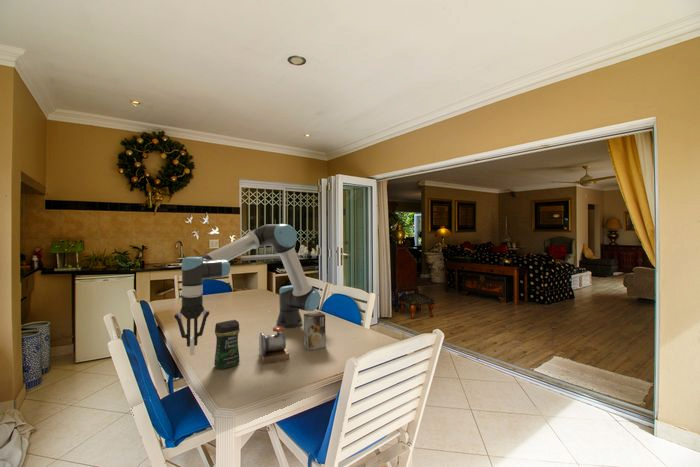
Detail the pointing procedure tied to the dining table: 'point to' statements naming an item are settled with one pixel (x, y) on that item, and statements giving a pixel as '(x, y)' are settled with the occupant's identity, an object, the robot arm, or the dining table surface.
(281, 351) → the valve stub
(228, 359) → the coffee jar
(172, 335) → the dining table surface
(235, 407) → the dining table surface
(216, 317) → the dining table surface
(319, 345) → the coffee box
